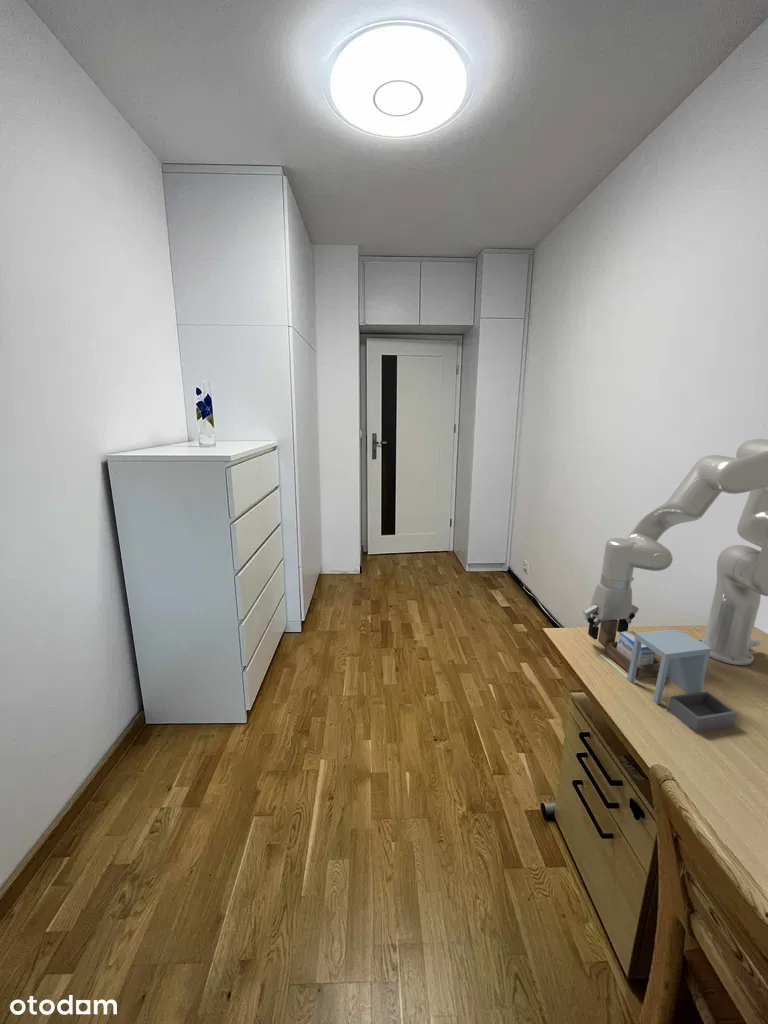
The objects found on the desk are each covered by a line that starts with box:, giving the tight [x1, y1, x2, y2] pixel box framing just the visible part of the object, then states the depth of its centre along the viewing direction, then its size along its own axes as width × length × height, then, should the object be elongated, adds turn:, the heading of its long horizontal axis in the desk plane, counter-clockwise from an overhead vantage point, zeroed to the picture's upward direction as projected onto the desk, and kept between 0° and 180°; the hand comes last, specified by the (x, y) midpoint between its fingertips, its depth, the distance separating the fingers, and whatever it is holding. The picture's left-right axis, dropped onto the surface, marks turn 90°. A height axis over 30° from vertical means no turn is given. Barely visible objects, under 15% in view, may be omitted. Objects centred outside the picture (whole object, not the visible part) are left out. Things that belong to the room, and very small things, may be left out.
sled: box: [597, 619, 661, 679], centre depth 112 cm, size 8×17×8 cm, turn 11°
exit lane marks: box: [599, 654, 628, 679], centre depth 110 cm, size 12×10×1 cm
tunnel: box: [627, 628, 711, 705], centre depth 99 cm, size 12×9×13 cm
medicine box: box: [617, 630, 656, 666], centre depth 108 cm, size 8×4×9 cm, turn 11°
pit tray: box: [667, 690, 738, 734], centre depth 91 cm, size 10×7×4 cm
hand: (607, 635), depth 119 cm, fingers open, 9 cm apart
